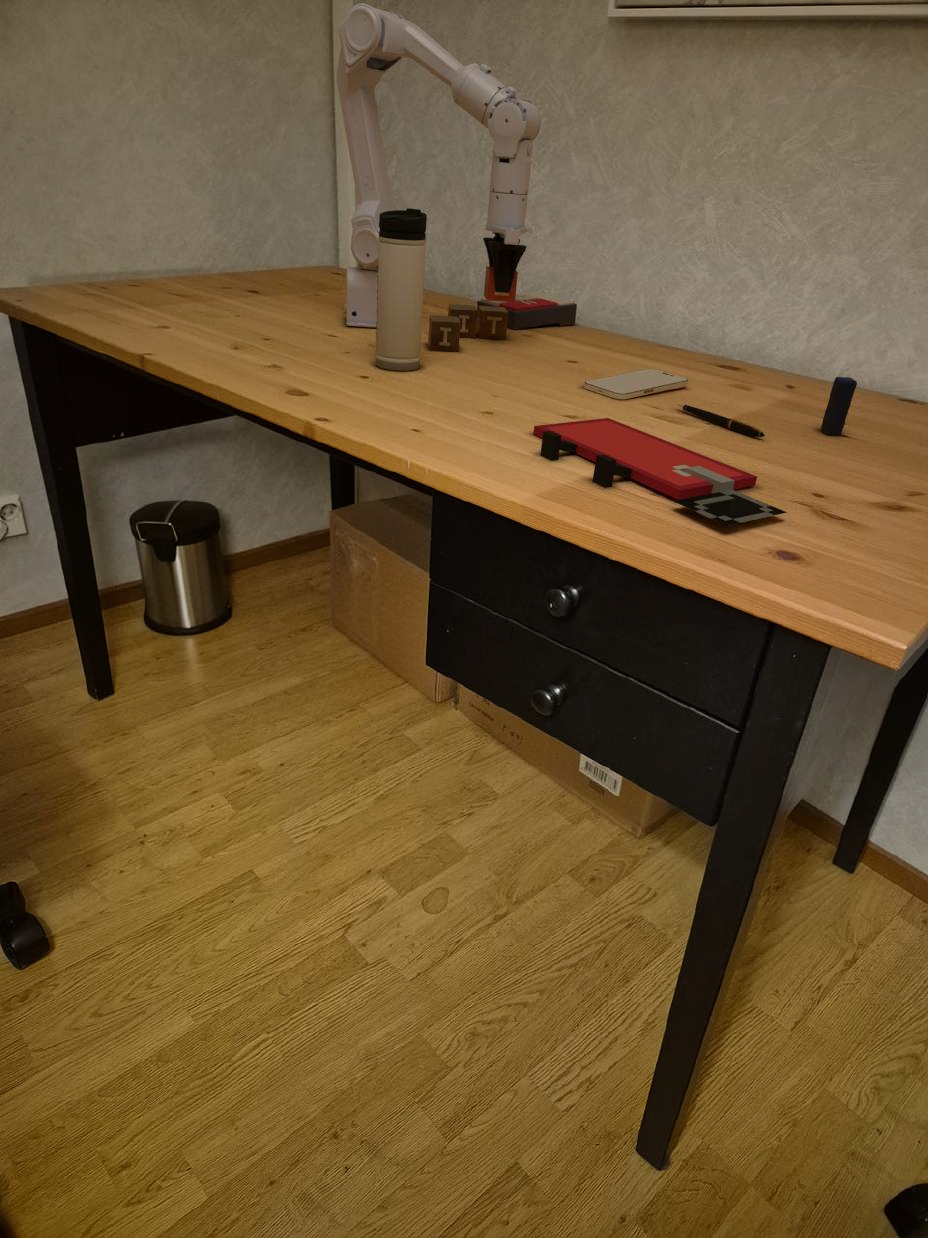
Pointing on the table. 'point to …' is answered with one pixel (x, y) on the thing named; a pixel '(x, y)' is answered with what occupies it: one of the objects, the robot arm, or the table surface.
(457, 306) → the dark brown cube block
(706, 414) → the fountain pen
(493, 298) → the block
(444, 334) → the I block front
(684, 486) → the red board with handle
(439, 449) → the table surface
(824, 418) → the eraser
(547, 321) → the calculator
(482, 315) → the T block
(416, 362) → the travel mug
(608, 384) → the smartphone
